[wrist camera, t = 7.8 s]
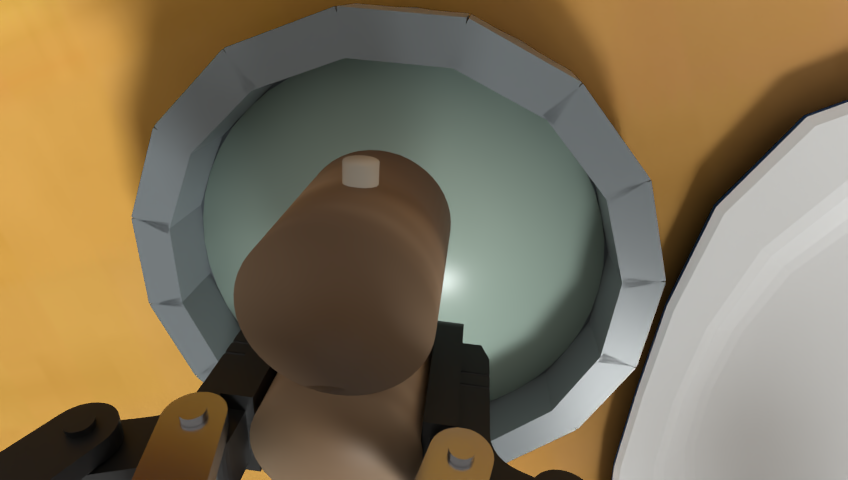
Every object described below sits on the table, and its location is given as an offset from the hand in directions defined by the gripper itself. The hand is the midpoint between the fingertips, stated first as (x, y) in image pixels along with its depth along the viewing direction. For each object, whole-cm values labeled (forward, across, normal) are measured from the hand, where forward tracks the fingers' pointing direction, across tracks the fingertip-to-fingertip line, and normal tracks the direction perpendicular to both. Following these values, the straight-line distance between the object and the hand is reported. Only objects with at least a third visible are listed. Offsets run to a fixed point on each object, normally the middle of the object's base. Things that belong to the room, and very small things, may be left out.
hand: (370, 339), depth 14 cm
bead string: (0, 0, 0) cm, 0 cm away
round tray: (+5, 0, 0) cm, 5 cm away
